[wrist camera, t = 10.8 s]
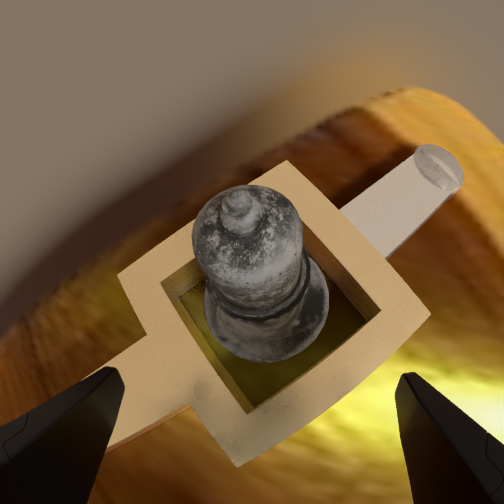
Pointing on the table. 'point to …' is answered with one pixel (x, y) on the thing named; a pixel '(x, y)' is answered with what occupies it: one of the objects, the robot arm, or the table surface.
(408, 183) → the cream handled frame
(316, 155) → the table surface
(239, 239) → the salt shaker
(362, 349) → the square wooden loop
